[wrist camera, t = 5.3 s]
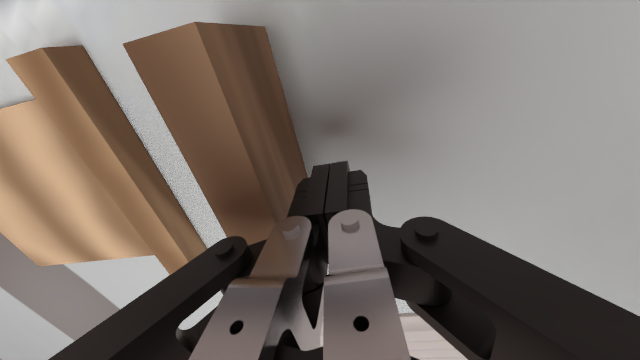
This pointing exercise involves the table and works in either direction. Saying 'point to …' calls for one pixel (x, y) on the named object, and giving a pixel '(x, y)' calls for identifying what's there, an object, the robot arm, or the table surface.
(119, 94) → the table surface
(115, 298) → the table surface
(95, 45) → the table surface
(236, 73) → the plank
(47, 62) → the floor edge
